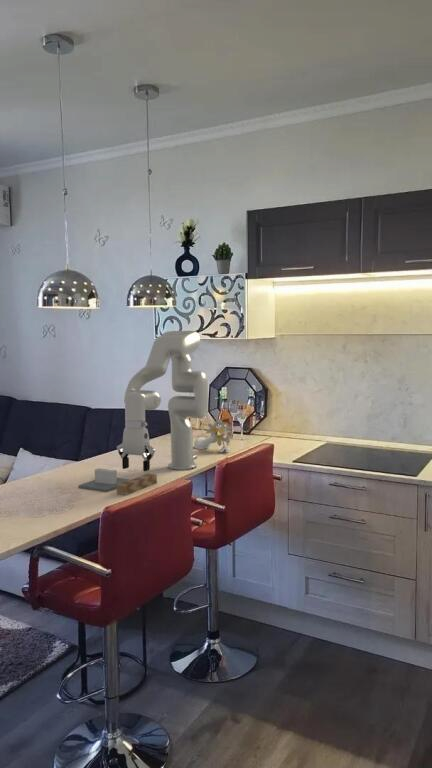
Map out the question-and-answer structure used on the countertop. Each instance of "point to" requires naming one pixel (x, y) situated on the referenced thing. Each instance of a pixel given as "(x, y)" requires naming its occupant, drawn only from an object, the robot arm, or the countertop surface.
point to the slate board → (101, 485)
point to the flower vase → (215, 436)
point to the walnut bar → (136, 484)
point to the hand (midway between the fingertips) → (135, 469)
